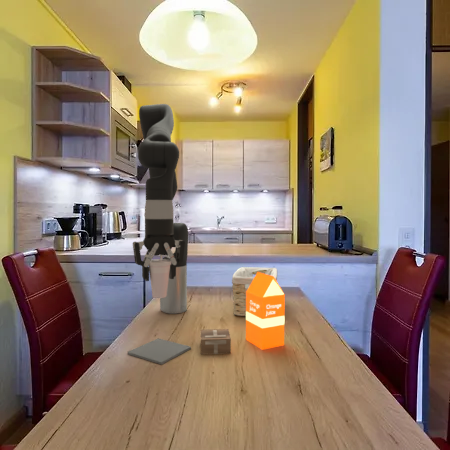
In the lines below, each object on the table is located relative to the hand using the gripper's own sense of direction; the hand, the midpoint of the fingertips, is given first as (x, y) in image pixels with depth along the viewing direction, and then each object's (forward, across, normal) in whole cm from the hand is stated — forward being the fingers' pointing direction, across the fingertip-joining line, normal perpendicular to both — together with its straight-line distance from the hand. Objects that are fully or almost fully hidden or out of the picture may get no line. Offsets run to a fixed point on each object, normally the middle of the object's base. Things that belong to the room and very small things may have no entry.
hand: (159, 279), depth 98 cm
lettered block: (+20, +15, -4) cm, 25 cm away
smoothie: (+5, 0, 0) cm, 5 cm away
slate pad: (+20, 0, 0) cm, 20 cm away
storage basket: (+20, +45, +24) cm, 55 cm away
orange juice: (+20, +29, -6) cm, 36 cm away
